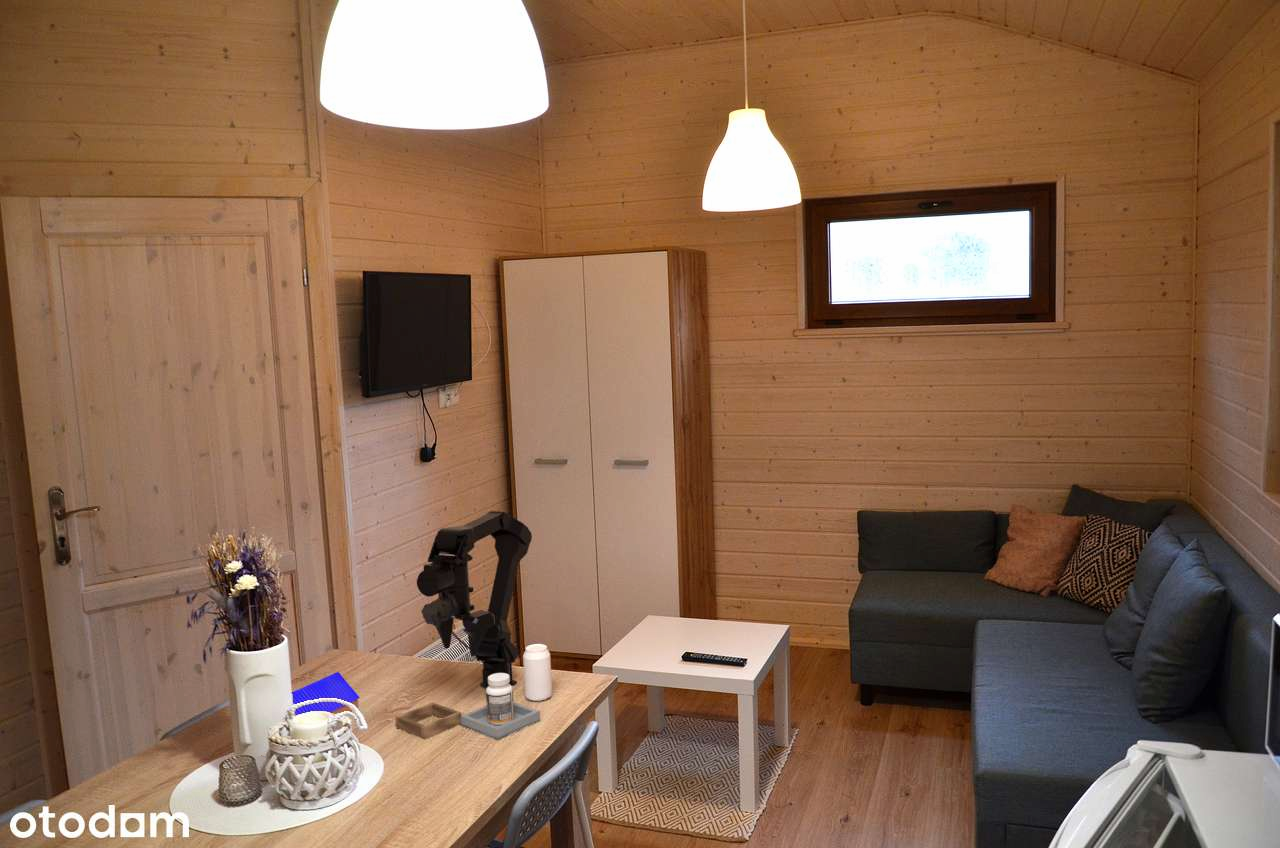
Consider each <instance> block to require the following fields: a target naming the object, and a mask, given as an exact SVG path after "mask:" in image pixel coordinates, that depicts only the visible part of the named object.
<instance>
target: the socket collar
mask: <svg viewBox="0 0 1280 848" xmlns="http://www.w3.org/2000/svg"><path fill="white" fill-rule="evenodd" d="M432 715H433V717H435V716H436V717H435V718H439V719H437V720H434V721H432V722H429V723H427V724H422V723H420V721H419V720H421V721H423V720H425V719H428V718H430V717H432ZM462 715H463V714H462V712H461V711H458V710H455V709H453V708H449V707H447V706H444V705H441V704H439V703H436V702H430V703H428V704H425V705H423V706H420V707H418V708H415V709H412V710H409V711H407V712H405V713H402V714H399V715H397V716H395V717H394V718H395V719H394V720H395V728H396V727H397V728H399V729H401V730H400V731H402V730H404V731H406V732H405V733H407V732H408V733H407V734H409V733H411V734H410V735H412V734H413V736H414V735H415V736H414V737H417V736H418V737H417V738H419V737H420V738H419V739H421V738H422V739H421V740H424V741H425V740H427V739H429V738H432V737H434V736H436V735H439V734H441V733H443V731H444V732H446V731H448V730H451V729H453V728H456V727H458V726H460V725H461V716H462ZM427 717H428V718H427ZM424 718H425V719H424ZM440 718H442V719H440ZM422 719H423V720H422ZM417 721H418V722H417ZM457 725H458V726H457ZM455 726H456V727H455ZM452 727H453V728H452ZM397 728H396V729H397ZM450 728H451V729H450ZM399 729H398V730H399ZM447 729H448V730H447ZM445 730H446V731H445ZM404 731H403V732H404Z"/></svg>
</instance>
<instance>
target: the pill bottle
mask: <svg viewBox="0 0 1280 848" xmlns="http://www.w3.org/2000/svg"><path fill="white" fill-rule="evenodd" d="M509 682H510V676H509V675H508V674H506V673H496V674H492V675H490V676H489V677H488V684H489V686H488V687H487V688H486V690H485V699H486V700H485V701H486V705H487V718H488V722H489V723H490V724H492V725H503V724H506V723H508V722H510V721H512V720H513V719H514V706H513V702H514V689H513V685H510V684H509Z"/></svg>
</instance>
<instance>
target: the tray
mask: <svg viewBox="0 0 1280 848" xmlns="http://www.w3.org/2000/svg"><path fill="white" fill-rule="evenodd" d="M513 706H514V719H513V720H512V721H510V722H508V723H506V724H503V725H492V724H490V723H489V722H488V718H487V704H486V705H484V706H482V707H480V708H476V709H475V710H471V711H470V712H468V713H465V714H461V715H462V716H461V724H460V725H461V727H462V726H463V727H462V728H464V727H466V728H465V729H467V728H469V729H468V730H470V729H472V730H474V731H473V732H475V731H476V732H475V733H478V732H479V733H478V734H480V733H481V735H483V734H484V735H483V736H485V735H486V737H488V736H489V737H488V738H491V737H492V738H491V739H493V738H494V739H493V740H496V741H500V740H502V739H505V738H506V737H508V735H509V734H511V733H513V732H515V731H517V732H519V731H518V730H520V729H522V728H524V727H526V726H528V727H530V726H529V725H531V724H533V723H535V724H537V723H539V722H541V712H540V709H539V710H538V709H535V708H534V707H533V708H532V707H529V706H526V705H525V704H524V705H523V704H521V703H517V702H514V701H513ZM538 721H539V722H538ZM536 722H537V723H536ZM533 725H534V724H533ZM531 726H532V725H531ZM526 728H527V727H526ZM524 729H525V728H524ZM472 730H471V731H472ZM522 730H523V729H522ZM520 731H521V730H520ZM515 733H516V732H515ZM513 734H514V733H513ZM511 735H512V734H511ZM509 736H510V735H509Z"/></svg>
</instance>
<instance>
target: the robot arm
mask: <svg viewBox="0 0 1280 848" xmlns="http://www.w3.org/2000/svg"><path fill="white" fill-rule="evenodd" d="M436 533H437V534H436V535H435V537H434V539H433V543H432V546H431V550H430V552H429V555H428V557H427V562H428V563H426V564H423V570H422V571H421V572H420V573H419V574H418V576H417V578H416V586H417V589H418V591H419V592H420V593H421V594H422V595H423V596H426V597H434V596H436V595H437V594H438V596H437V598H436V599H435V600H432V601H431V602H430V603H427V604H424V606H423V607H422V609H421V612H420V613H421V615H422V618H423V619H424V622H425V624H427V625H432V626H434V627H435V629H436V630H437V632H438V635H439V637H440V640H441V643H442V645H443V648H444V649H446V650H447V649H450V647H451V642H452V635H453V634H452V633H453V626H454V621H455V619H456V620H460V621H462V626H463V627H464V628H463V629H462V631H463V632H464V633H465V634H466V635H467V638H468V646H469V647H468V648H469V652H470V656H471V657H475V658H476V661H477V662H482V670H481V671H482V672H481V673H482V682H480V683H479V686H480V687H483V688H486V689H487V687H488V686H489V684H488V677H489V676H490V675H492V674H496V673H506V674H508V675H509V676H510V682H509V684H510V685H511V686H514V685H516V684H518V681H517V680H515V679H513V668H512V667H513V666H512V665H513V664H514V663H515V662H516V660H517V659H518V654H519V653H518V652H519V649H518V648H517V647H516V646H515V645H514V644H513V643H512V642H511V638H512V633H511V629H510V626H509V623H508V618H509V617H508V616H509V612H510V608H511V603H512V602H511V601H512V598H513V592H514V587H515V583H516V578H517V573H518V572H517V571H518V568H519V563H520V561H522V559H523V558H524V557H525V556H527V554H528V551H529V547H530V546H531V545H530V544H531V542H532V540H533V539H532V537H533V536H532V535H533V534H532V531H530V529H529V527H528V526H527V525H526V524H525V523H523V522H521V520H518V519H516V518H515V517H514V516H512V514H511V513H509V512H507V511H504V510H503V511H501V510H491V511H488V512H487V513H485V514H484V515H482V516H480V517H478V518H476V519H474V520H472V521H470V522H468V523H466V524H464V525H458V526H449V527H442V528H440V529H439V530H438V531H437V532H436ZM488 536H490V537H492V538H493V539H494V549H495V552H496V555H497V557H498V560H497V565H496V570H495V575H494V579H493V583H492V588H491V594H490V599H489V603H488V609H487V610H482V609H479V610H477V611H475V604H471V597H470V596H471V595H470V594H471V593H474V587H472V586H470V581H469V579H470V578H469V564H468V563H469V562H471V561H472V560H473V559H474V558H473V556H472V555H471V554H470V552H471V551H473V549H474V548H475V544H476V543H477V542H480V540H483V539H484V538H486V537H488ZM471 611H474V612H471ZM512 663H513V664H512Z"/></svg>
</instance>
